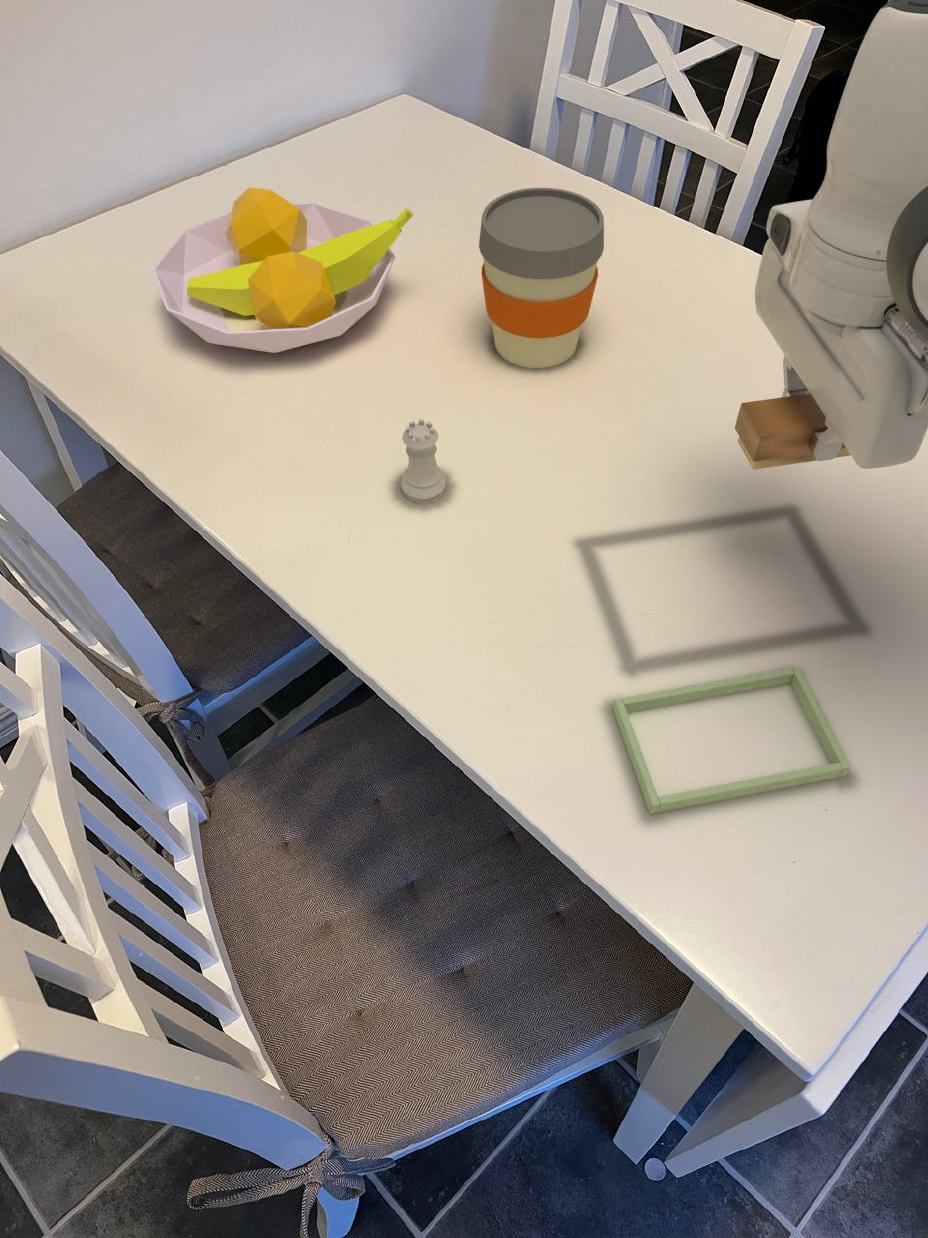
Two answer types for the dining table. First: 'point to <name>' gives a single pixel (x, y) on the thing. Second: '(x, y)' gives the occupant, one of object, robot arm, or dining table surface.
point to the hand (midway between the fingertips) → (806, 430)
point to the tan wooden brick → (780, 430)
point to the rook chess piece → (422, 464)
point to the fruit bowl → (277, 271)
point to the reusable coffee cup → (539, 272)
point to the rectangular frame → (742, 788)
